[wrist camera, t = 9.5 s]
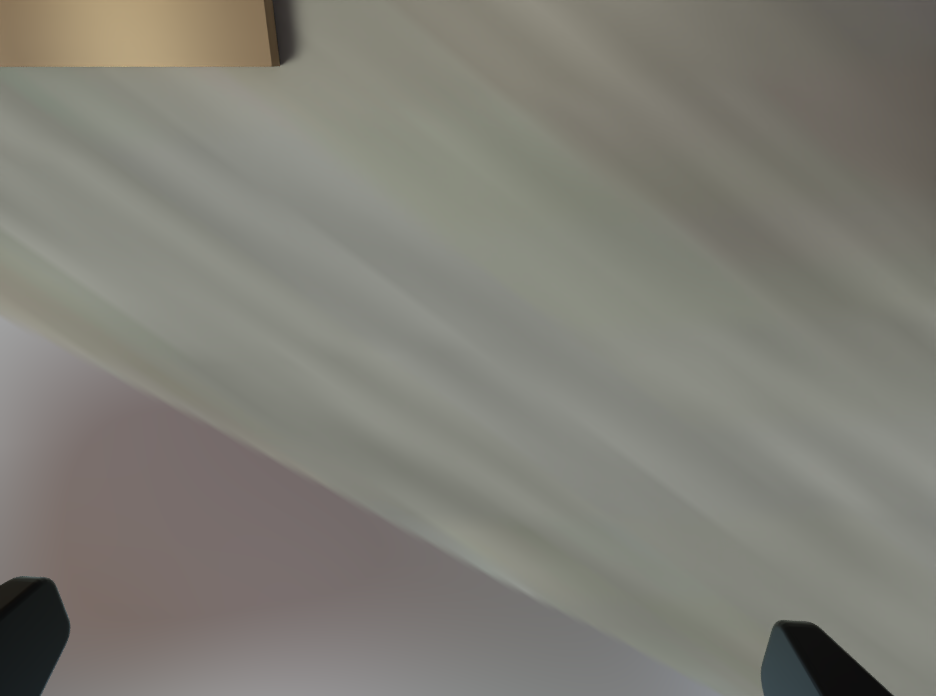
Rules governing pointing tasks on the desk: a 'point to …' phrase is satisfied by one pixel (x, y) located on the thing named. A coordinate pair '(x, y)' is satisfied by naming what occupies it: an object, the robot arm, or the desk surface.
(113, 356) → the desk surface
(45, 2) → the frame
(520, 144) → the desk surface
